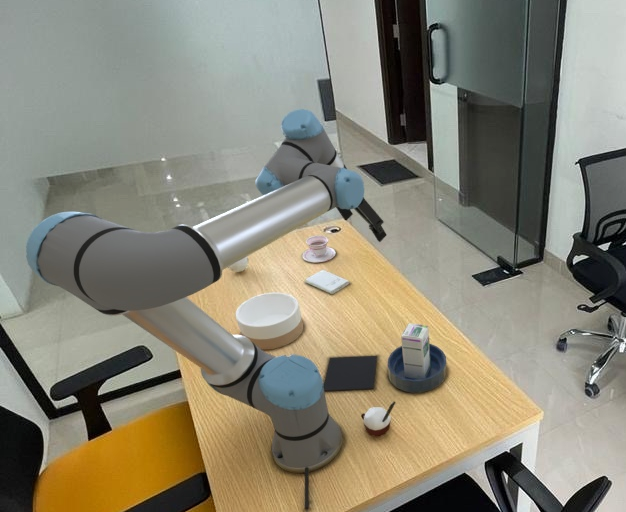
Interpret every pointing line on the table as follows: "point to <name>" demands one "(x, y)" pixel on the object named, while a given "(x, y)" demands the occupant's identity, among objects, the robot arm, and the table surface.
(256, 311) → the bowl
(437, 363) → the serving bowl
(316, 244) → the teacup
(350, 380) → the mat
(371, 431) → the cocoa
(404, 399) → the table surface
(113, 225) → the robot arm
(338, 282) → the hard drive
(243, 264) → the white egg shape
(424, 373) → the syrup box
